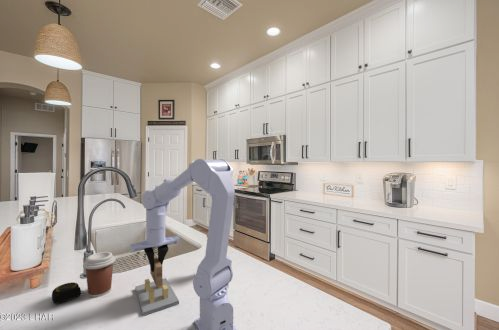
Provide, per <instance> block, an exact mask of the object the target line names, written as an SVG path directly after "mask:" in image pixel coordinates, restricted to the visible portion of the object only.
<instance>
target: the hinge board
mask: <svg viewBox="0 0 499 330" xmlns="http://www.w3.org/2000/svg"><path fill="white" fill-rule="evenodd" d="M135 292H136V293H135V294H136V296H137V299H138V302H139V303H138V304H139V306H140V309H141V313H142V315H143V317H144V316H147V315H151V314H153V313H156V312H160V311H162V310H163V311H164V310H165V309H168V308H171V307H174V306H177V305H179V304H180V300H179V298H178V296H177V295H176V293H175V291H174V290H173V288H172V286H171V284H170V283H169V281H168V279H167V278H166V277H165V278H163V277H162V286H160V287H156V284H155V282H154V281H150V279H149V278H147V279H144V283H143V284H139V285H136V286H135Z"/></svg>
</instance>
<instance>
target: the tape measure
mask: <svg viewBox="0 0 499 330" xmlns="http://www.w3.org/2000/svg"><path fill="white" fill-rule="evenodd" d="M81 295H82V290H81V287H80V286H79V283H77V282H67V283H66V282H65V283H63V284H61V285H60V284H59V285H58V286H56V287H55V288H54V289H52V293H51V300H52V303H53V304H55V305H58V304H61V303H64V302H67V301H70V300H72V299H73V300H74V299H76V298H78V297H80V296H81Z"/></svg>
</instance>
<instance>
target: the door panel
mask: <svg viewBox="0 0 499 330" xmlns="http://www.w3.org/2000/svg"><path fill="white" fill-rule="evenodd" d="M149 272H150V276H151V277H152V280H153V282H155V284H156V287H160V286H162V278H163V264H162V265H161V263H160V261H159V260H158V256H157V255H156V254H154V272H152V271H151V269H150V270H149Z"/></svg>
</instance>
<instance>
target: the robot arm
mask: <svg viewBox="0 0 499 330" xmlns="http://www.w3.org/2000/svg"><path fill="white" fill-rule="evenodd" d="M233 171H234V169H233V167H232V166H231V164H230V163H229V162H228V161H227V160H226V159H203V158H198V159H197V158H196V159H195V160H194V161H193V162H191V163H189V164H188V167H187V168H186V169H185V170H184V171H182V172H181V173H180V174H178V176H176V177H175V178H165V179H163V182H162V183H161V184H159V185H156V186H155V187H154V189H152V190H149V189H148V190H145V191H144V192H143V193H142V196H141V203H142V206H143V208H144V209H145V219H146V220H145V222H146V223H145V226H146V227H145V228H146V229H145V230H146V231H145V233H146V234H145V235H146V236H145V237H146V239H145V240H143V241H140V242H135V243H132V244H129V245H130V247H129V248H130V249H129V251H130V253H135V252H139V251H144V254H145V255H146V257H147V260H148V262H149V263H148V264H149V267H150V269H151V271H152V272H154V255H155V251H154V249H155V248H157V258H158V260H159V261H160V263H161V265H162V266H163V263H164V260H165V257H166V255H167V254H168V252H169V248H170V247H169V246H170V245H175V244H176V245H178V244H180V236H177V235H176V236H168V237H166V212H168V206H169V203H170V201H172V200H173V199H175V198H177V197H178V196H180V194H181V193H182V189H183V188H185V187H187V186H189V185H191V184H192V183H194V182H195V184H196V185H198V186H199V187H200V188H201V189H202V190H203V191H205V192H206V194H209V195H210V197H211V198H212V199H211V205H210V207H211V208H210V215H209V222H208V231H207V233H208V237H206V249H205V255H204V257H203V258H202V260H201V261H200V262H199V264H198V265H197V267H196V268H197V269H196V273H195V275H194V276H193V279H192V280H193V281H192V286H193V290H194V292H195V294H196V295H197V297H199V317H197V318H195V319H194V320H193V321H194V322H193V323H194V324H195V326H196V328H197V329H198V330H237V328H236V327H235V325H234V307H233V305H232V303H231V301H230V300H229V297H228V289H229V284H230V283H231V282H232V280H233V279H234V278H233V275H234V272H233V269H232V268H233V267H232V262H233V260H232V259H231V258H230V257H228V256H227V254H228V247H229V241H230V240H229V238H230V233H231V225H232V219H233V218H232V217H233V210H234V202H235V201H234V200H235V195H236V194H235V193H236V191H235V186H234V182H233Z"/></svg>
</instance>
